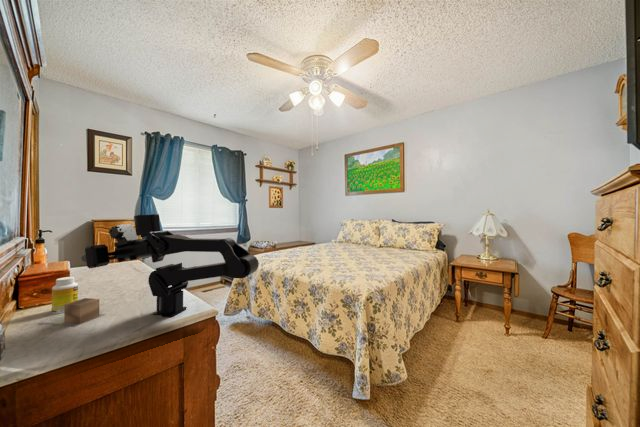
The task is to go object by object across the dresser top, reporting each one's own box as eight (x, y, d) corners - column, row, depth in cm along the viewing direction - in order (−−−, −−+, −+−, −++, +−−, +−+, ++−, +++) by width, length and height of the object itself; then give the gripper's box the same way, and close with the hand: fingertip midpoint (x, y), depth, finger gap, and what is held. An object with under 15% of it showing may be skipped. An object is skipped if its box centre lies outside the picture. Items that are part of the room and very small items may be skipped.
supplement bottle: (76, 311, 74) (76, 278, 74) (49, 316, 71) (49, 281, 71) (79, 306, 79) (79, 275, 79) (53, 310, 75) (54, 277, 75)
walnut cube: (99, 316, 70) (99, 299, 70) (79, 323, 65) (79, 305, 65) (84, 315, 71) (84, 298, 71) (64, 322, 66) (64, 304, 66)
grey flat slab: (106, 315, 71) (106, 314, 71) (74, 328, 63) (74, 326, 63) (71, 313, 73) (71, 311, 73) (37, 325, 65) (37, 323, 65)
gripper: (161, 222, 85) (121, 229, 86) (108, 224, 66) (59, 233, 68) (165, 254, 84) (126, 260, 86) (113, 264, 66) (64, 272, 68)
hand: (97, 255), depth 77 cm, fingers open, 9 cm apart
